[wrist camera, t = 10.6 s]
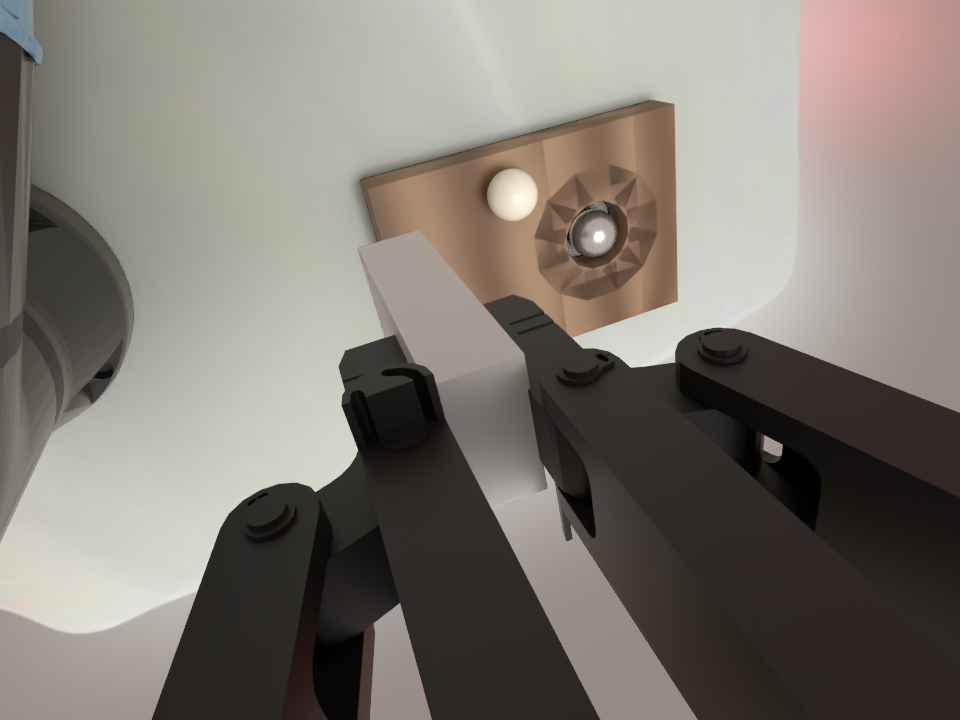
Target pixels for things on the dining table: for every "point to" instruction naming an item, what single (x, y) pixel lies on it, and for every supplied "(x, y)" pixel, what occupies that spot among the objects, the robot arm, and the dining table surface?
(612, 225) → the steel ball
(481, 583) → the robot arm
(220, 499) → the dining table surface
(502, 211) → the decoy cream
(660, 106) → the board
